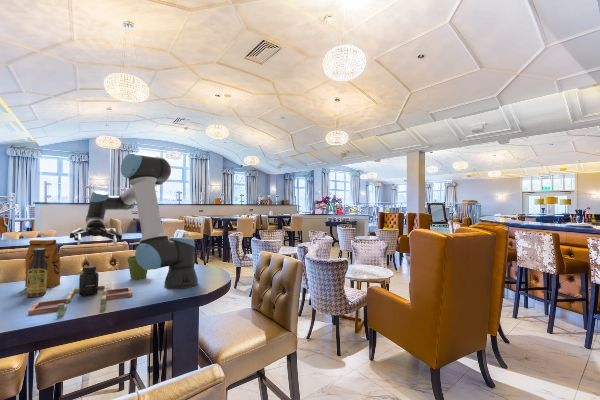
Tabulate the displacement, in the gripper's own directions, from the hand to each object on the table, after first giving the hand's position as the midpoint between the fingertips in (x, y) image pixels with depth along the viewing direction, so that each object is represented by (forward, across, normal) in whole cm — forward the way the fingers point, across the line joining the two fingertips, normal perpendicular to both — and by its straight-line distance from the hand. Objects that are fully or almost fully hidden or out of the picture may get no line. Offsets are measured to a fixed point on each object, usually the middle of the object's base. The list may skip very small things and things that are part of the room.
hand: (97, 242), depth 132 cm
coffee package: (-18, +16, -30) cm, 39 cm away
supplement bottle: (+9, 0, -20) cm, 22 cm away
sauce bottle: (-1, +18, -26) cm, 31 cm away
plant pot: (-9, -22, -23) cm, 33 cm away
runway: (+18, +2, -18) cm, 25 cm away
